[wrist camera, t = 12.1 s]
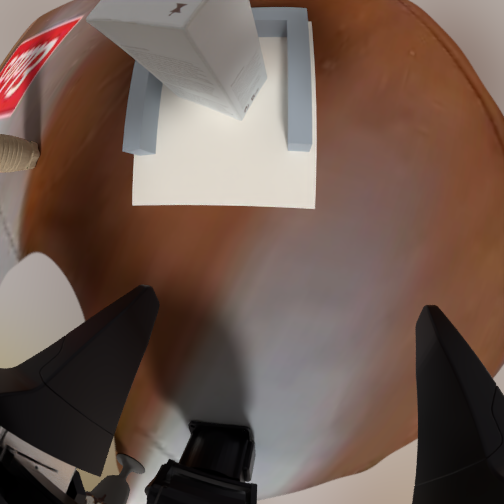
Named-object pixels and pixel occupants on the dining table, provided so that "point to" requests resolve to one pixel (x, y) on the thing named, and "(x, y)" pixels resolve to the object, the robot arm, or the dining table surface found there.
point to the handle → (17, 154)
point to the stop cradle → (231, 131)
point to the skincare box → (191, 47)
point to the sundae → (115, 484)
